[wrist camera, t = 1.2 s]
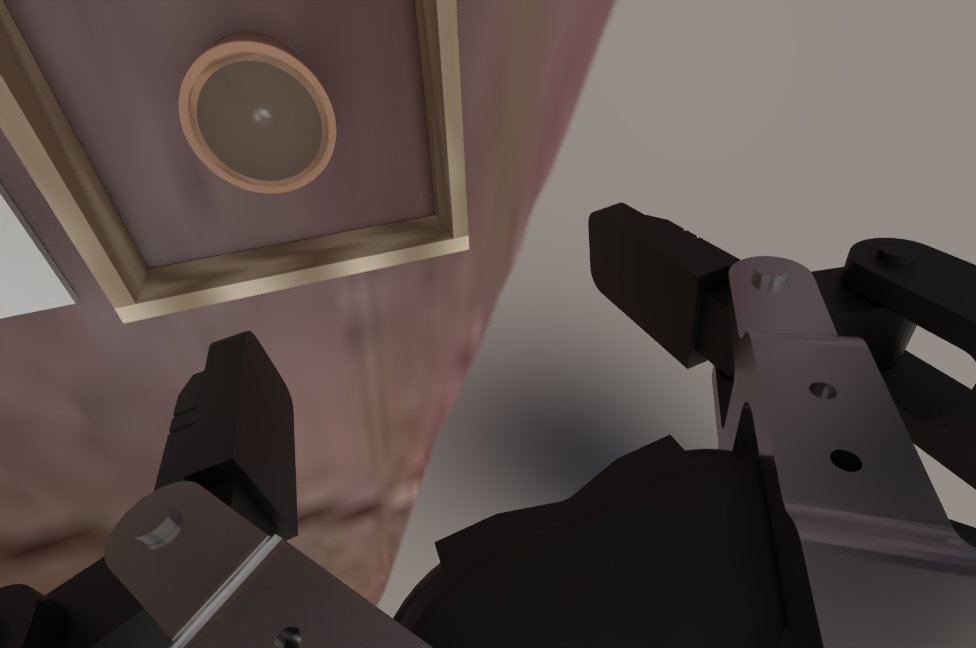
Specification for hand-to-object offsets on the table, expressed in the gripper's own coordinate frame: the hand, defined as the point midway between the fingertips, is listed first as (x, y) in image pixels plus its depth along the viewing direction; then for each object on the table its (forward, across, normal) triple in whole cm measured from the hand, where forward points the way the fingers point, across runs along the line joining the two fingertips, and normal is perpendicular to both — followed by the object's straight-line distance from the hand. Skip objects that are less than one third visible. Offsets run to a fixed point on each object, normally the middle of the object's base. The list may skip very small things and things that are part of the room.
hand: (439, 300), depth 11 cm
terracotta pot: (+21, +4, -3) cm, 22 cm away
